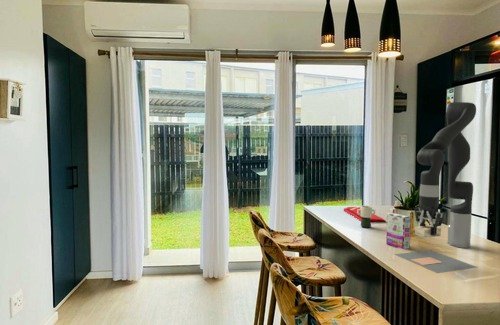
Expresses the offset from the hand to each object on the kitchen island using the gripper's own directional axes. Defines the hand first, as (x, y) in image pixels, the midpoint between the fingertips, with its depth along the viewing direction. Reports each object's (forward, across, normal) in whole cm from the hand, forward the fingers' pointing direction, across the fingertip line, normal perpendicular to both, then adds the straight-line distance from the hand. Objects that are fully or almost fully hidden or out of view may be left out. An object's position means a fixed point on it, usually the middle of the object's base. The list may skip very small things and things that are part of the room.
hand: (427, 233), depth 147 cm
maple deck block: (+1, 0, 0) cm, 1 cm away
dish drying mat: (+13, +90, -34) cm, 97 cm away
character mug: (+13, +62, -15) cm, 65 cm away
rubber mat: (+13, 0, -4) cm, 14 cm away
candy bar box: (+13, +23, -5) cm, 27 cm away
